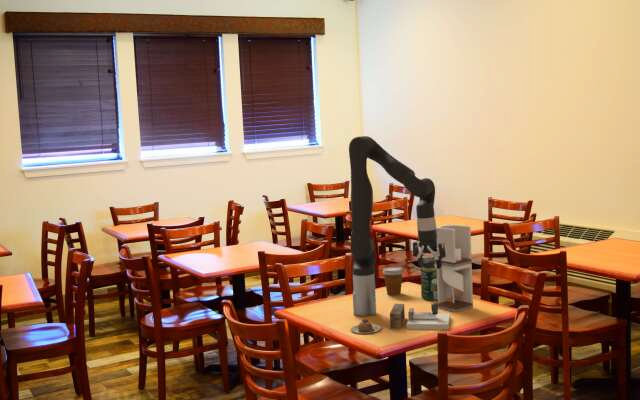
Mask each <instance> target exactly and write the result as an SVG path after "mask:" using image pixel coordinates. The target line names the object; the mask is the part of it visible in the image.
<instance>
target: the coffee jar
mask: <svg viewBox="0 0 640 400" xmlns="http://www.w3.org/2000/svg"><path fill="white" fill-rule="evenodd" d="M422 258H423V263H424V267H422V268H420V267H419V269H420V279H421V280H420V283H421V284H420V290H421V294H420V295H421V298H422V299H424V300H426V301H433V302H436V301H438V294H437V268H436V267H435V264H434V258H432V257H431V256H430V257H429V256H428V257H422Z"/></svg>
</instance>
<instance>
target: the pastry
mask: <svg viewBox="0 0 640 400" xmlns="http://www.w3.org/2000/svg"><path fill="white" fill-rule="evenodd" d="M381 329H382V327H381V326H379V325H378V324H372V323H371V322H370V321H369V319H366V318H364V319H361V321H360V322H359V323H358V324H357V325H354V326H351V328H350V331H351V332H352V333H354V334H357V335H368V334H375V333H378V332H380V331H381Z"/></svg>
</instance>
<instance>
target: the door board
mask: <svg viewBox="0 0 640 400" xmlns="http://www.w3.org/2000/svg"><path fill="white" fill-rule="evenodd" d="M408 309H409V310H408V320H407V322H406V330H449V329H450V328H449V326H450V321H451V313H439V312H438V314H437V317H436V319H413V315H412V314H413V312H415V310H414V307H409V308H408Z"/></svg>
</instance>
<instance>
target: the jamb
mask: <svg viewBox="0 0 640 400" xmlns="http://www.w3.org/2000/svg"><path fill="white" fill-rule="evenodd" d="M405 317H406V313H405V303H394V304H393V306H392V308H391V311H390V312H389V326H390V327H389V329H390V330H401V329H402V326H403V323H404V321H405V319H406V318H405Z"/></svg>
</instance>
